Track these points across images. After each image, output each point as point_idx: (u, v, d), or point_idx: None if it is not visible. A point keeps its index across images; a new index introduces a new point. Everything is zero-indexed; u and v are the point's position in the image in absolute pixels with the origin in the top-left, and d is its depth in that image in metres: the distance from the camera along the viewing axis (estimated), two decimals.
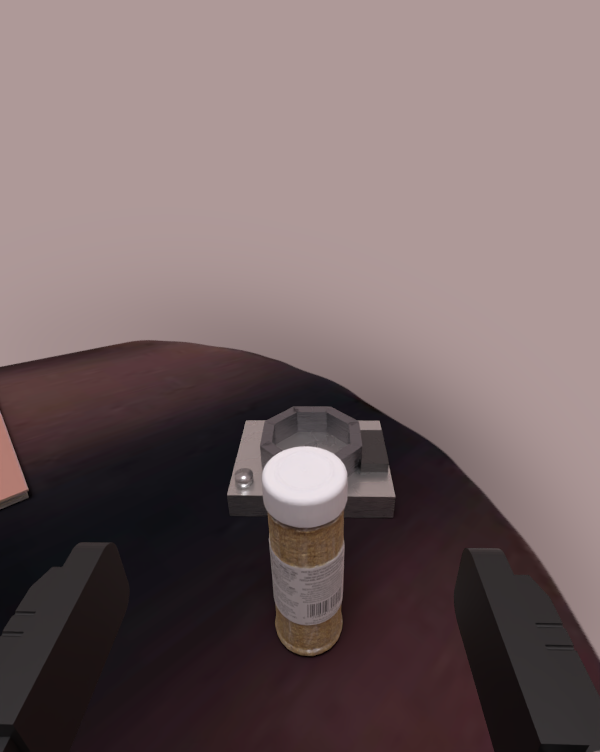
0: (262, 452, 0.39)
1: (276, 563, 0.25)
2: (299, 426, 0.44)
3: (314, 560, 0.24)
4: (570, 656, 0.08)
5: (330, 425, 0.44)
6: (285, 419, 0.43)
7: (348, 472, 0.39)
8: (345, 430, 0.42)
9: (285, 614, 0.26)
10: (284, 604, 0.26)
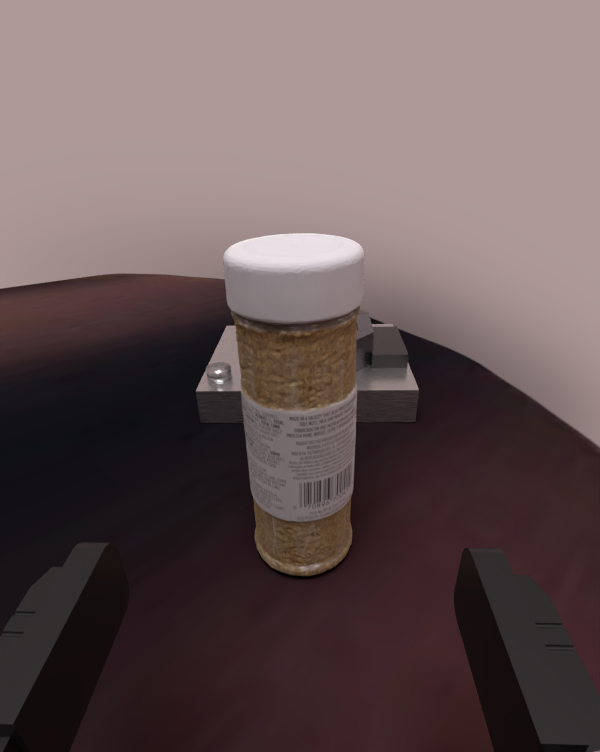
0: None
1: (251, 414, 0.16)
2: None
3: (310, 396, 0.14)
4: (570, 656, 0.08)
5: None
6: None
7: None
8: None
9: (267, 506, 0.17)
10: (264, 488, 0.17)
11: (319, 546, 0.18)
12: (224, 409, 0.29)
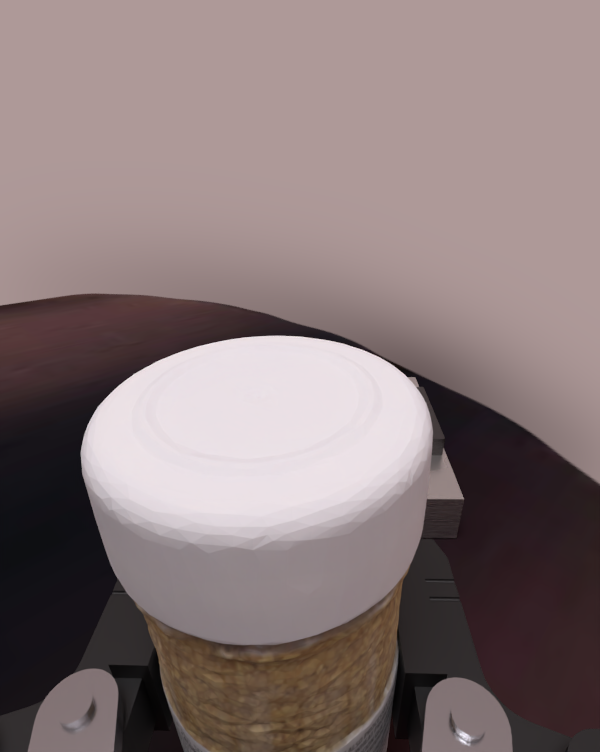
0: None
1: (176, 725, 0.07)
2: None
3: (300, 742, 0.06)
4: (454, 606, 0.09)
5: None
6: None
7: None
8: None
9: None
10: None
11: None
12: None
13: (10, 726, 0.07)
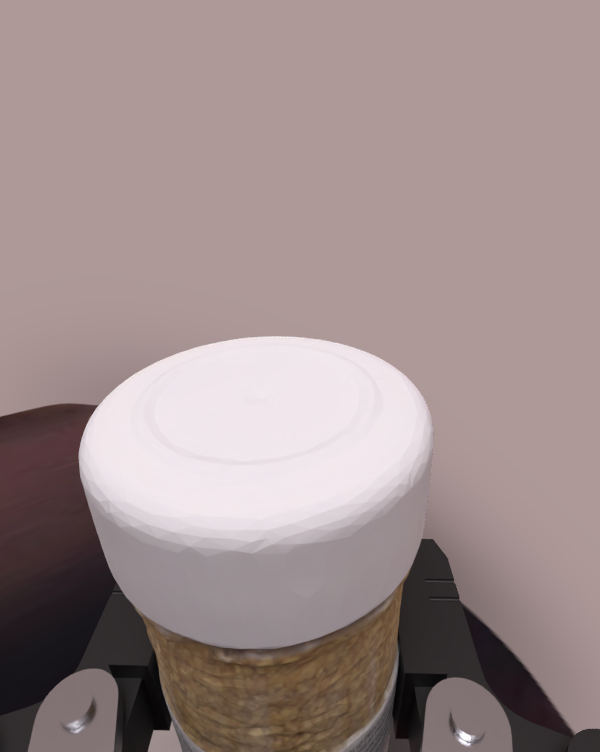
0: None
1: (175, 727, 0.07)
2: None
3: (300, 745, 0.06)
4: (454, 606, 0.09)
5: None
6: None
7: None
8: None
9: None
10: None
11: None
12: None
13: (10, 725, 0.07)
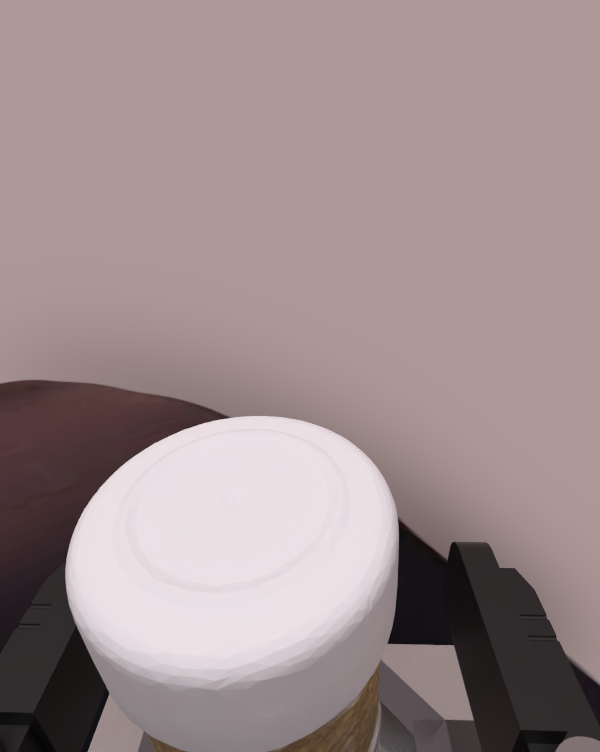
0: None
1: None
2: None
3: None
4: (553, 646, 0.08)
5: None
6: None
7: None
8: (400, 739, 0.14)
9: None
10: None
11: None
12: None
13: None
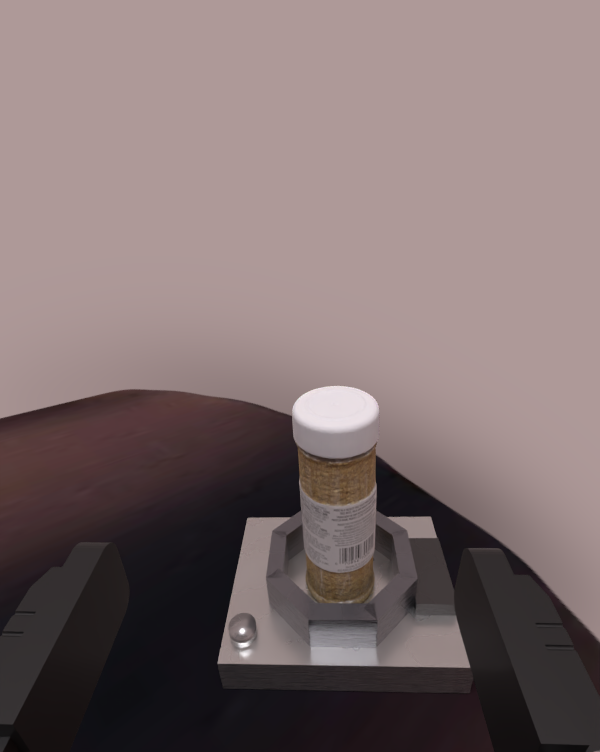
0: (269, 587, 0.27)
1: (308, 504, 0.24)
2: None
3: (346, 497, 0.23)
4: (570, 656, 0.08)
5: None
6: (301, 525, 0.30)
7: (398, 619, 0.26)
8: (387, 541, 0.30)
9: (317, 561, 0.26)
10: (315, 550, 0.25)
11: (352, 588, 0.26)
12: (250, 678, 0.25)
13: None
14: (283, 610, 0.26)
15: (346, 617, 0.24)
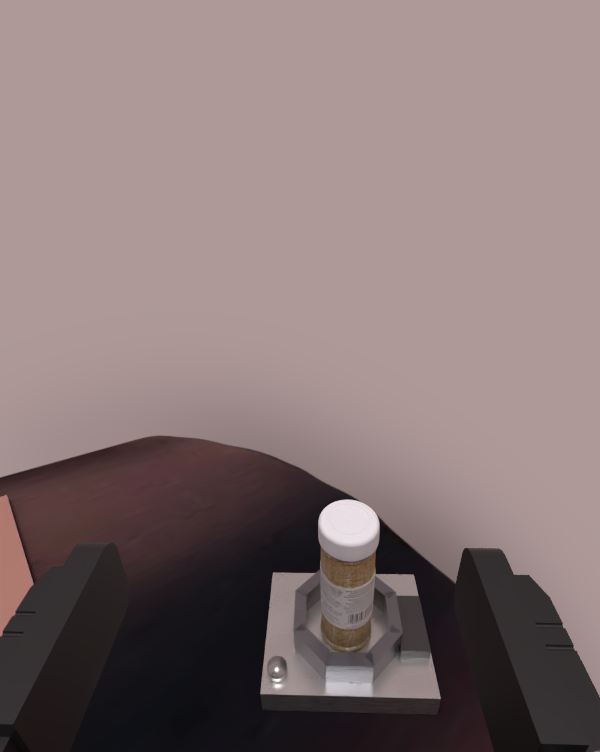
0: (296, 637, 0.37)
1: (327, 584, 0.34)
2: None
3: (355, 583, 0.33)
4: (570, 656, 0.08)
5: None
6: (316, 586, 0.40)
7: (388, 661, 0.36)
8: (381, 599, 0.40)
9: (331, 621, 0.36)
10: (330, 614, 0.36)
11: (355, 639, 0.37)
12: (282, 703, 0.35)
13: None
14: (306, 654, 0.36)
15: (352, 663, 0.34)
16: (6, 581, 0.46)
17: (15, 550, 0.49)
